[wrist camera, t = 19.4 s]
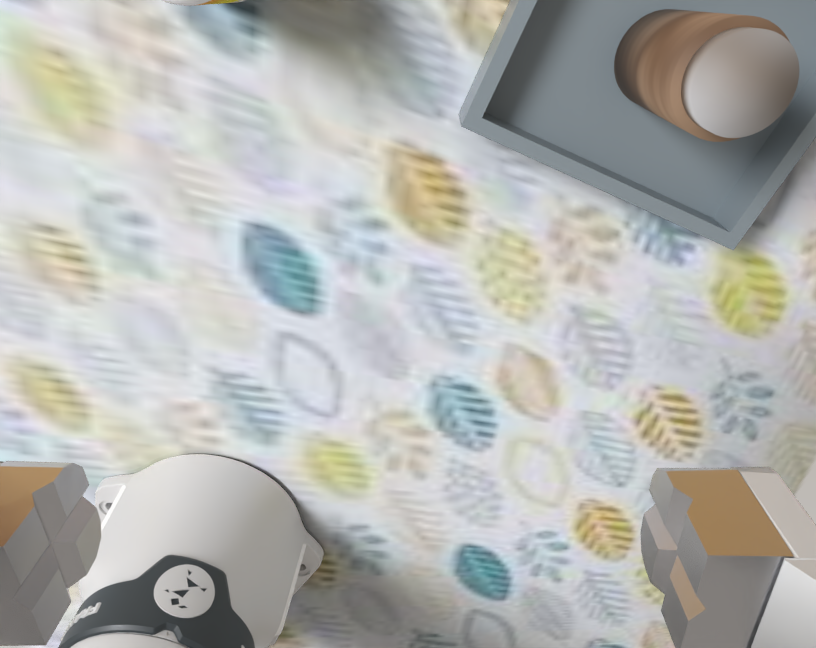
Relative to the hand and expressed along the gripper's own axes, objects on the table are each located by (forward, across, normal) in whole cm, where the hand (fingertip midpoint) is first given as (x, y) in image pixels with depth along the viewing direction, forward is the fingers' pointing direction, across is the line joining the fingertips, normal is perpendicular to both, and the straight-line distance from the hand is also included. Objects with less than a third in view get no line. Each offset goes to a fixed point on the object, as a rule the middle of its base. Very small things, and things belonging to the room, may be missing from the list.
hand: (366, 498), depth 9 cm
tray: (+31, -13, -3) cm, 34 cm away
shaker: (+30, -13, -3) cm, 33 cm away
